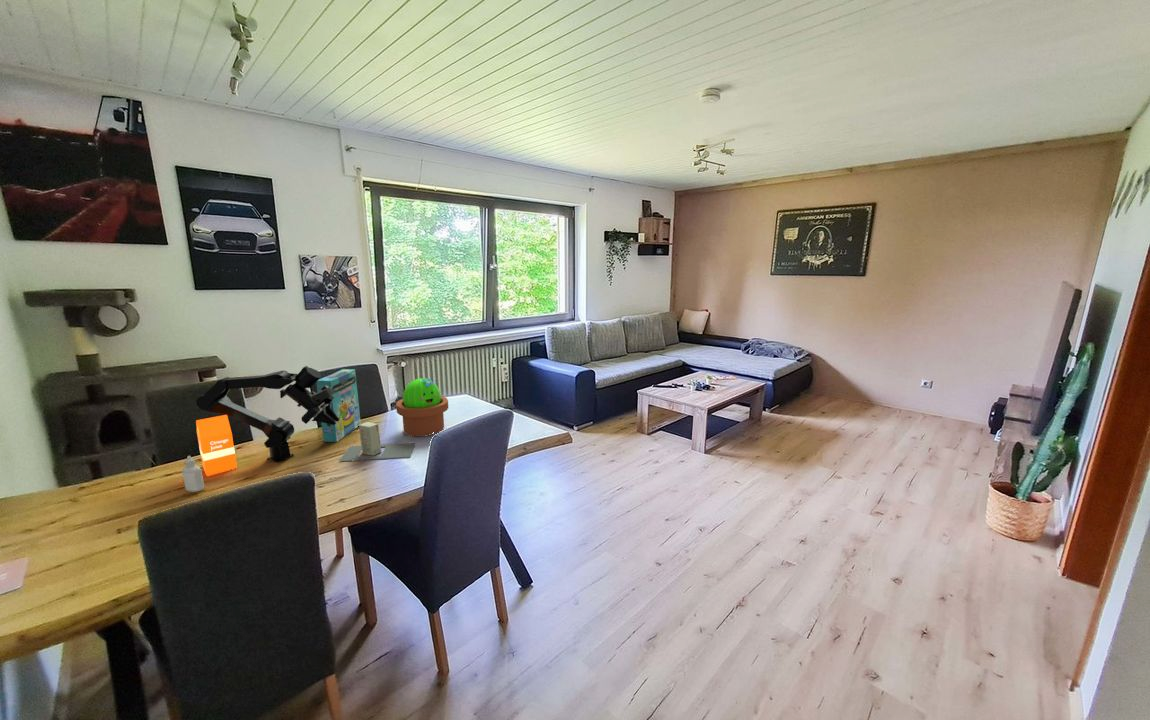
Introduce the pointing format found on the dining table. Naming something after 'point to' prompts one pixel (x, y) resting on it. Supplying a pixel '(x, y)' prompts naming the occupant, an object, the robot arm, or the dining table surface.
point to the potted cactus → (422, 408)
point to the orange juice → (216, 445)
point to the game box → (341, 404)
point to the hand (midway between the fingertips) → (336, 422)
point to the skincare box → (370, 438)
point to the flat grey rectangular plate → (389, 453)
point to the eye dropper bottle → (192, 476)
